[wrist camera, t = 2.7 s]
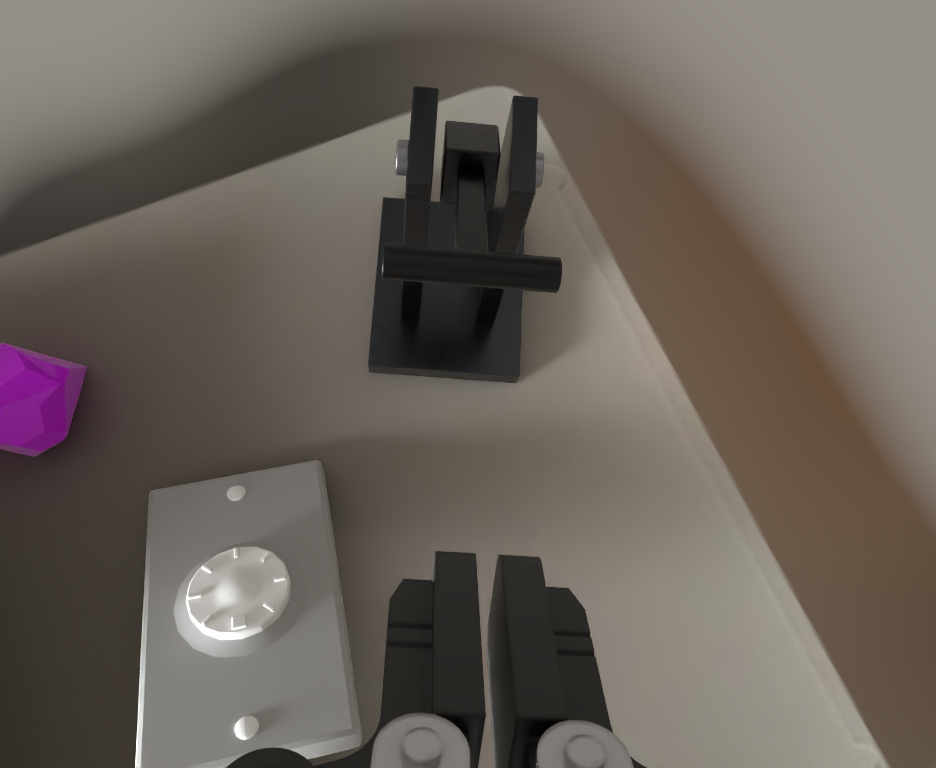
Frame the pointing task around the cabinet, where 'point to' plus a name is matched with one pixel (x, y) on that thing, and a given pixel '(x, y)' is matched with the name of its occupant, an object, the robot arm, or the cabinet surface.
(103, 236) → the cabinet surface
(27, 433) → the crystal
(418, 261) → the lever
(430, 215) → the bracket
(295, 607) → the light switch
